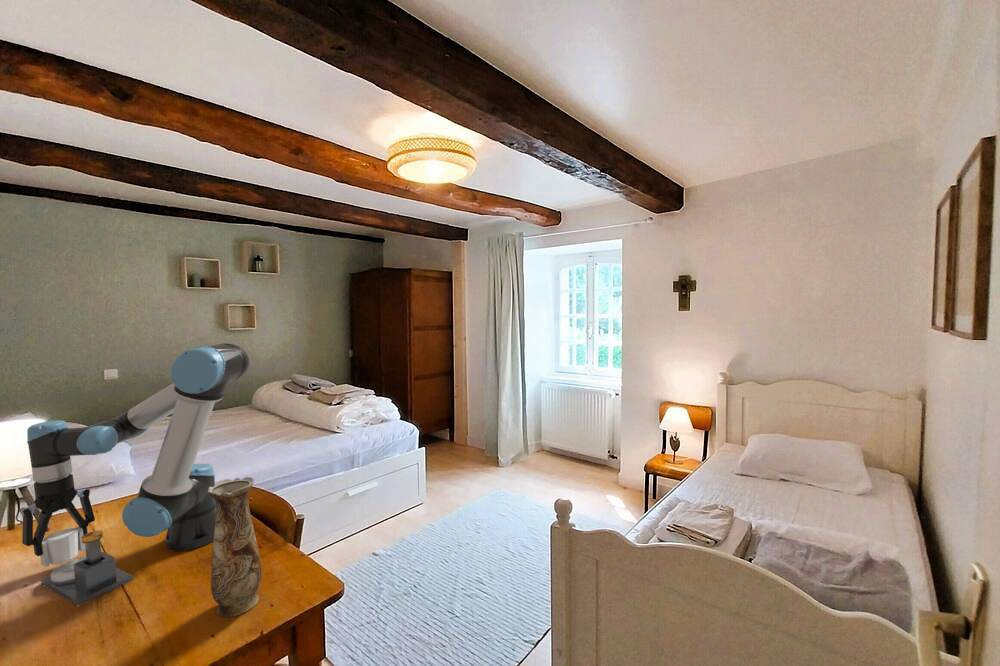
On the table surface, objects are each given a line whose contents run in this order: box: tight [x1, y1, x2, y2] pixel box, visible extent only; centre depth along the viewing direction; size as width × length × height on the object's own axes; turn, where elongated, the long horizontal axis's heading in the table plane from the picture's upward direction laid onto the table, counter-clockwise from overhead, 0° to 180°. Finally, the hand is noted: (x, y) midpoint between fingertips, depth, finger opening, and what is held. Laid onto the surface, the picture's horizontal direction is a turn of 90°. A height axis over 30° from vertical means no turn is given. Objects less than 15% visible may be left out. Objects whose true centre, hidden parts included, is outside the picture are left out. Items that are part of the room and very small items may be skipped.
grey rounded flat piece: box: [50, 556, 86, 585], centre depth 115 cm, size 10×10×2 cm
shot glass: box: [43, 527, 79, 565], centre depth 119 cm, size 7×7×7 cm
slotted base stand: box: [40, 551, 133, 606], centre depth 113 cm, size 20×11×7 cm, turn 65°
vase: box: [207, 476, 262, 618], centre depth 103 cm, size 10×11×30 cm
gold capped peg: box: [81, 530, 104, 566], centre depth 111 cm, size 4×4×8 cm
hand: (63, 557), depth 119 cm, fingers closed on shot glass, 7 cm apart
